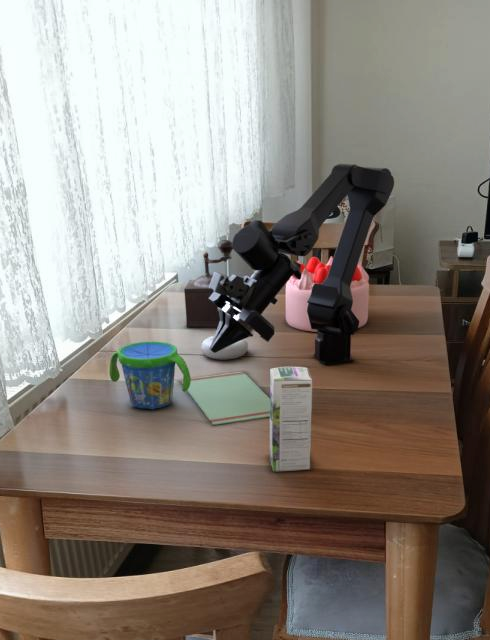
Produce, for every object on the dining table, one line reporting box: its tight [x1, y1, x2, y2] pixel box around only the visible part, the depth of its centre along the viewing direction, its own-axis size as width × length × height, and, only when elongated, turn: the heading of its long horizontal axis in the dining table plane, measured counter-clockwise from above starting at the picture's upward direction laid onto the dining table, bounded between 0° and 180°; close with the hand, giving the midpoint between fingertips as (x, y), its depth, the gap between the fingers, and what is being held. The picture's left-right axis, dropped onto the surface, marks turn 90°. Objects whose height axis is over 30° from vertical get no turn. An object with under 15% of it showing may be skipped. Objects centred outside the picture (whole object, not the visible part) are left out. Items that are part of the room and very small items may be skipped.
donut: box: [201, 335, 249, 361], centre depth 166 cm, size 10×3×10 cm
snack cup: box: [109, 340, 192, 410], centre depth 140 cm, size 16×10×10 cm
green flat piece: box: [179, 370, 270, 426], centre depth 144 cm, size 13×24×1 cm, turn 18°
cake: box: [285, 255, 370, 333], centre depth 184 cm, size 20×20×14 cm
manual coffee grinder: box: [183, 239, 234, 329], centre depth 188 cm, size 16×11×18 cm
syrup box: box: [269, 366, 313, 473], centre depth 115 cm, size 6×6×14 cm
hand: (211, 351), depth 143 cm, fingers closed
